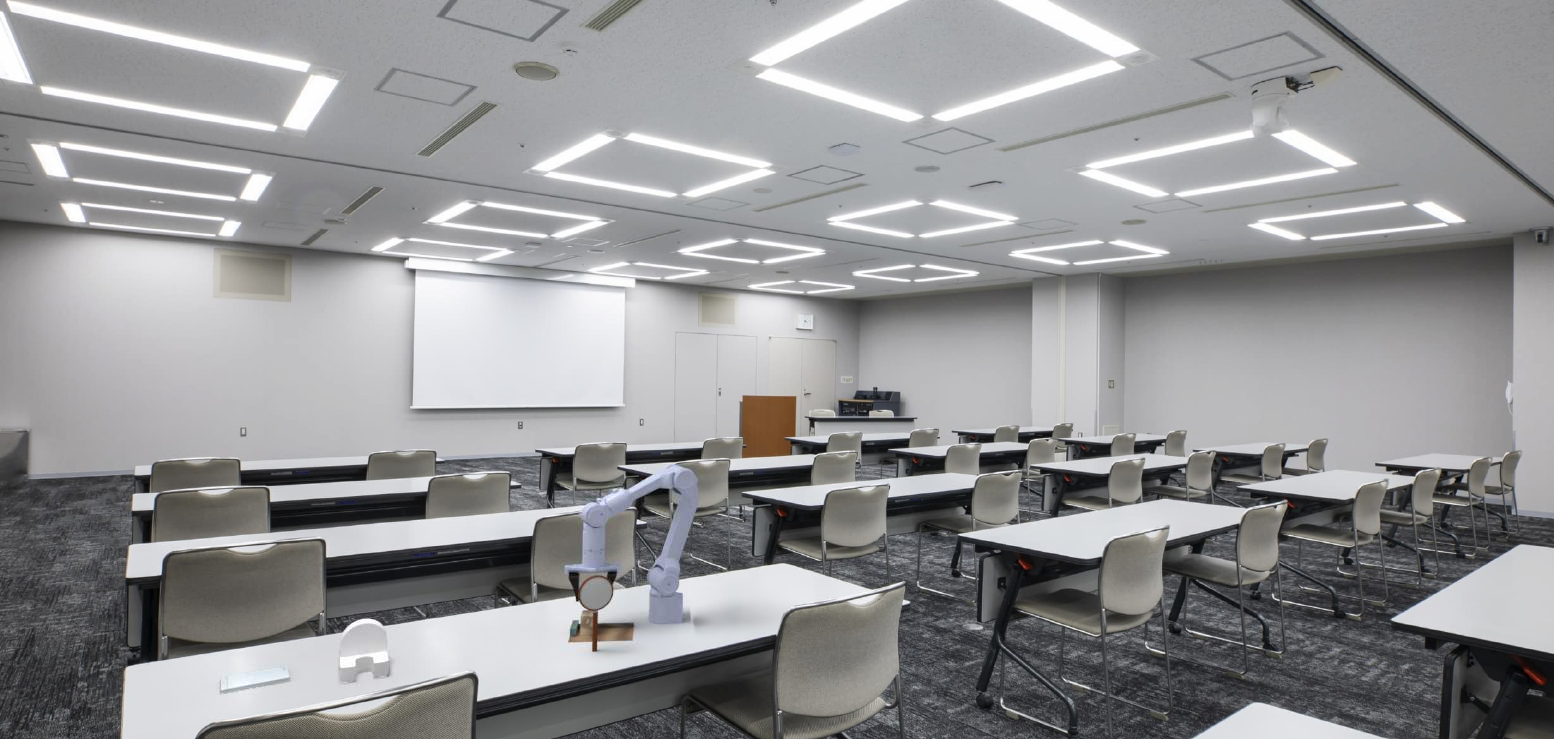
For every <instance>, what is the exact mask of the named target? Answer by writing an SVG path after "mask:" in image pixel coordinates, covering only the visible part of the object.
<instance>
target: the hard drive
mask: <svg viewBox="0 0 1554 739" xmlns="http://www.w3.org/2000/svg"><path fill="white" fill-rule="evenodd" d="M290 682H291V678H290V671H289V667H288V665H283V666H278V667H277V666H276V667H272V668H266V669H262V670H255V671H254V670H253V671H249V672H243V673H238V674H237V673H236V674H232V675H228V676H222V677H219V683H220V687H219V689H220V690H219V692H220V693H225V694H227V693H226V692H231V693H234V692H233V691H236V692H238V691H237V690H242V691H245V689H247V690H250V689H249V688H252V689H257V688H256V687H258V688H263V687H267V685H269V686H274V685H277V684H283V683H290ZM262 686H263V687H262Z"/></svg>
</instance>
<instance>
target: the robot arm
mask: <svg viewBox="0 0 1554 739" xmlns="http://www.w3.org/2000/svg"><path fill="white" fill-rule="evenodd" d="M698 482H699V479H698V477H697V476H696V474H695V473H694V471H693V470H692V469H690V468H687V467H683V466H681V465H678V464H677V463H676V464H674V463H673V464H669V465H668V466H666V467H663V468H660V469H659V470H658V471H656V472H655V473H652V475H650V476H648V477H646V478H645V479H643V480H641V481H640V482H638V483H637V484H635V485H633V486H632V487H629V488H627V489H625V488H622V487H620V488H619V489H618V488H613V489H612V492H611V493H608V494H607V495H606V496H603V497H602V498H601V497H598V498H596V502H593V501H592V502H588V503H586V504H585V505H584V506H583V507H582V508H581V512H580V513H579V515H580V519H581V520H582V522H583V524H582V525H583V527H582V529H583V530H582V552H581V554H582V556H581V558H582V560H581V563H578V564H577V563H576V564H566V565H564V575H568V580H569V582H570V585H571V587H572V589H573V593H574V597H575V602H577V603H578V602H579V598H578V592H579V588H580V575H581V574H598V573H599V574H601V573H602V574H607V575H606V578H608V579H609V580H610V581H611V583H612V585H614V583H615V581H616V578H617V576H618V574H621V573H622V563H607V562H605V557H606V556H605V554H606V553H605V550H606V549H605V547H606V546H605V545H606V544H605V543H606V531H605V528H606V524H607V523H608V520H609V519H611V518H613V517H615V516H618V515H619V514H621V513H623V512H625V511H626V510H627V509H630V508H631V506H632V504H633V502H634V501H635V500H637V499H639V498H641V497H644V496H645V495H648V494H650V493H651V492H653V491H655V490H657V489H671V490H672V491H673V492H674V495H675V496H676V499H677V500H678V503H677V506H676V510H675V512H674V514H673V518H672V521H671V524H670V526H669V530H668V533H667V536H666V538H665V541H664V545H663V548H662V551H661V554H660V555H659V556H658V557H657V558H656V559H655V560H654V563H653V565H652V566H651V568H650V569H649V570H648V572H647V573H646V574H647V575H646V581H647V583H648V585H649V586H650V589H649V596H648V597H649V598H648V599H649V600H648V602H649V604H648V621H649V623H651V624H653V625H669V624H683V621H684V612H683V607H684V606H683V603H684V594H683V592H677V591H678V589H679V586H680V573H681V566H680V559H681V556H682V553H683V551H684V549H685V548H684V547H685V544H686V542H687V538H688V535H689V532H690V529H691V526H692V523H693V520H694V517H695V514H696V511H697V509H698V505H699V501H700V496H699V490H698V489H699V487H698ZM579 603H580V602H579Z"/></svg>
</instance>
